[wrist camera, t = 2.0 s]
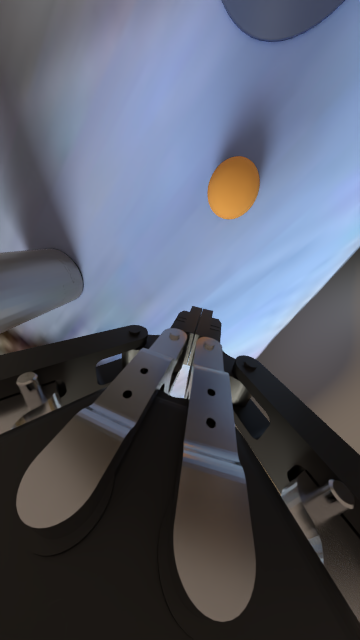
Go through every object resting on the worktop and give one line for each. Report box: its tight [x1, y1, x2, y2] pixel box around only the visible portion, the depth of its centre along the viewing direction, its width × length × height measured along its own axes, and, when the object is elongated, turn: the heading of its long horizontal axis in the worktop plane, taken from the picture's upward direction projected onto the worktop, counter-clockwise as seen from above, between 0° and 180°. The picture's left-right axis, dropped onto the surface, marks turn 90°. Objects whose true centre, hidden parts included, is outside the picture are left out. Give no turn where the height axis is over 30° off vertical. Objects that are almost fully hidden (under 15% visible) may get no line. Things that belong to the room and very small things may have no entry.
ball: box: [208, 156, 260, 219], centre depth 17 cm, size 5×5×5 cm
